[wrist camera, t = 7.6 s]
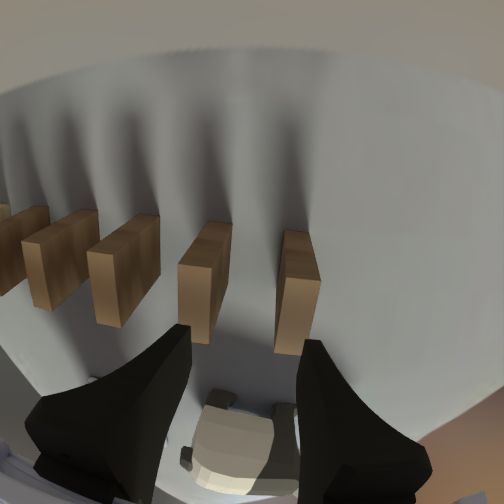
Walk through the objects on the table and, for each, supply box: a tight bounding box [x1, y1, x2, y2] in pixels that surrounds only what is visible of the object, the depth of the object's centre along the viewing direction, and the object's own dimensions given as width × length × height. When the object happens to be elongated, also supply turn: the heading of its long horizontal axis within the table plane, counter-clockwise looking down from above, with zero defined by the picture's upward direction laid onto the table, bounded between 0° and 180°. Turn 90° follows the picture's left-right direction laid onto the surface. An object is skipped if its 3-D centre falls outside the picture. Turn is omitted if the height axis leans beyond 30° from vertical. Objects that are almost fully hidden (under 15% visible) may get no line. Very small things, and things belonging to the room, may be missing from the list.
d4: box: [21, 209, 100, 311], centre depth 19 cm, size 4×2×7 cm, turn 175°
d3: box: [87, 214, 161, 328], centre depth 19 cm, size 4×2×7 cm, turn 175°
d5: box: [0, 206, 50, 296], centre depth 19 cm, size 4×2×7 cm, turn 175°
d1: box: [274, 230, 321, 356], centre depth 18 cm, size 4×2×7 cm, turn 175°
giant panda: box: [180, 389, 300, 498], centre depth 23 cm, size 15×6×10 cm, turn 76°
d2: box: [178, 221, 233, 345], centre depth 19 cm, size 4×2×7 cm, turn 175°
